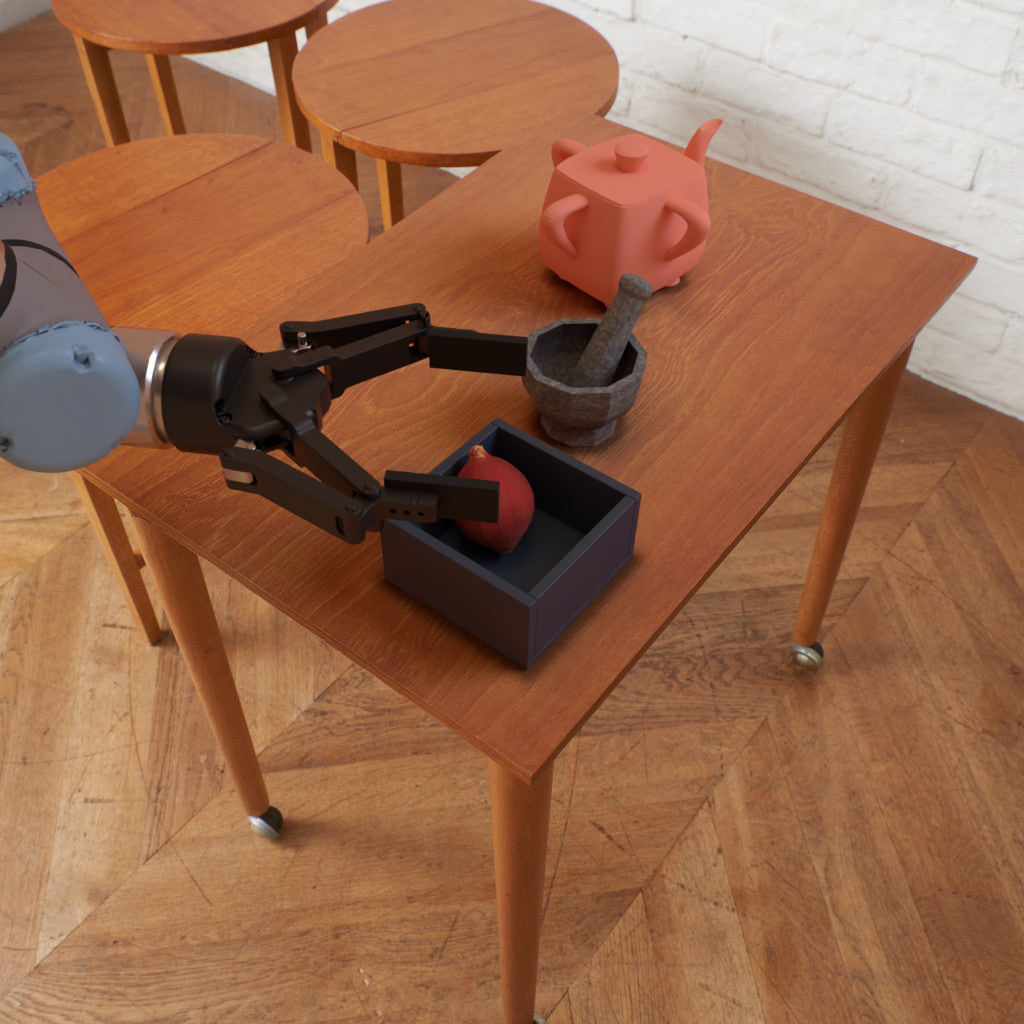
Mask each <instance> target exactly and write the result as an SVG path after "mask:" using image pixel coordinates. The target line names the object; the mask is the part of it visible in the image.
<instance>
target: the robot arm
mask: <svg viewBox="0 0 1024 1024" xmlns="http://www.w3.org/2000/svg"><path fill="white" fill-rule="evenodd" d="M37 188H38V186H37V183H36V181H35V180H34V179H33V178H32V177H31V175H30V172H29V170H28V168H27V166H26V163H25V161H24V158H23V156H22V153H21V151H20V149H19V147H18V145H17V144H16V143H15V141H13V140H12V138H10V137H9V136H7V135H6V134H4V133H3V132H0V458H1V459H3V460H4V461H5V462H7V463H8V464H10V465H12V466H15V467H17V468H19V469H22V470H25V471H30V472H34V473H44V474H59V473H68V472H72V471H76V470H81V469H83V468H86V467H89V466H90V465H93V464H95V463H98V462H99V461H101V460H103V459H104V458H106V457H107V456H109V455H110V454H111V453H112V452H113V451H114V450H115V449H116V448H118V447H119V446H124V447H134V448H135V447H136V448H142V449H153V450H163V451H164V450H171V449H173V448H174V447H175V449H177V450H178V451H179V452H181V453H187V454H195V455H196V454H197V455H207V456H217V457H218V458H219V461H220V466H221V470H222V474H223V477H224V481H225V485H226V488H228V489H230V490H233V491H239V492H243V493H244V492H245V493H250V494H254V495H258V496H260V497H262V498H263V499H266V500H268V501H270V502H271V503H273V504H275V505H277V506H278V507H280V508H282V509H284V510H286V511H288V512H289V513H291V514H293V515H295V516H296V517H298V518H300V519H302V520H304V521H305V522H308V523H310V524H311V525H313V526H315V527H317V528H319V529H321V530H323V531H324V532H326V533H328V534H330V535H332V536H333V537H335V538H337V539H339V540H341V541H342V542H344V543H345V544H349V545H351V546H358V545H361V544H362V543H364V541H365V540H366V536H367V535H366V533H367V532H370V533H378V532H380V531H381V530H382V529H383V528H384V525H385V524H384V519H392V520H401V521H411V522H420V523H431V522H437V518H448V519H457V520H467V521H476V522H486V523H495V524H498V519H499V497H500V481H492V480H482V479H472V478H462V477H452V476H443V475H433V474H428V473H421V472H413V471H412V472H411V471H404V470H403V471H402V470H393V469H386V470H385V472H384V477H383V485H381V483H380V481H379V480H378V479H376V478H375V477H374V476H373V475H372V474H370V473H369V472H368V471H367V470H366V469H365V468H363V467H362V466H361V465H360V464H359V463H358V462H357V461H355V460H354V459H353V458H352V457H351V456H350V455H348V454H347V452H345V451H344V450H342V448H340V447H339V446H338V445H337V444H335V442H334V441H332V440H331V439H330V438H329V437H328V436H327V435H325V434H324V433H323V432H322V429H323V427H324V426H323V422H324V421H323V418H324V417H325V416H326V414H327V413H328V412H329V410H330V409H331V406H332V402H333V401H334V400H336V399H338V398H341V397H342V396H343V395H344V393H345V391H346V390H347V389H348V388H352V387H354V386H356V385H360V384H362V383H364V382H367V381H370V380H372V379H375V378H378V377H380V376H383V375H386V374H388V373H392V372H394V371H397V370H399V369H402V368H405V367H407V366H410V365H412V364H415V363H418V362H420V361H423V360H426V359H428V363H429V369H438V370H449V371H460V372H469V373H470V372H471V373H481V374H490V375H491V374H492V375H502V376H512V377H521V376H522V377H526V372H527V353H528V337H529V336H519V335H510V334H509V335H507V334H498V333H487V332H486V333H485V332H480V331H477V330H474V329H468V328H457V327H447V326H437V325H433V324H431V313H430V311H428V310H427V307H426V305H425V304H424V303H421V302H413V303H408V304H407V303H406V304H403V305H397V306H390V307H386V308H381V309H380V308H379V309H375V310H370V311H369V310H368V311H364V312H359V313H353V314H348V315H343V316H337V317H332V318H327V319H326V318H325V319H321V320H315V321H311V320H310V321H309V320H307V321H306V320H286V321H283V322H281V323H280V324H279V325H278V326H279V327H278V329H279V335H280V345H279V348H278V350H273V351H267V352H266V351H265V352H261V351H260V352H259V351H257V350H256V349H253V348H252V347H251V346H250V345H248V343H246V341H244V340H243V339H241V338H240V337H237V336H227V335H218V334H217V335H216V334H207V333H196V332H189V333H186V334H184V335H182V334H181V333H179V332H177V331H176V330H173V329H161V328H149V327H148V328H147V327H136V326H122V325H110V323H109V322H108V320H107V319H106V317H105V315H104V314H103V312H102V310H101V309H100V308H99V306H98V304H97V303H96V301H95V300H94V298H93V296H92V295H91V293H90V292H89V290H88V289H87V287H86V285H85V284H84V281H82V279H81V277H80V275H79V274H78V272H77V270H76V269H75V266H74V265H73V264H72V262H71V260H70V259H69V257H68V255H67V253H66V251H65V250H64V248H63V246H62V245H61V243H60V241H59V240H58V238H57V237H56V235H55V233H54V232H53V230H52V228H51V227H50V225H49V223H48V221H47V218H46V216H45V213H44V212H43V209H42V206H41V203H40V200H39V197H38V195H37V191H36V190H37ZM321 367H323V371H322V370H320V369H319V368H321ZM522 377H521V378H522ZM277 450H280V451H281V452H282V453H283V454H285V456H287V457H288V458H289V459H290V460H291V461H292V462H293V463H294V464H296V465H297V467H299V468H300V469H303V468H305V469H307V470H308V471H309V472H310V473H311V474H312V475H313V476H314V477H313V476H311V475H309V474H307V473H305V472H303V471H301V470H300V469H298V468H296V467H294V466H292V465H290V464H288V463H286V462H284V461H282V460H281V459H279V458H277V457H275V456H273V455H270V454H269V453H271V452H273V451H274V452H275V451H277ZM315 477H316V478H315Z"/></svg>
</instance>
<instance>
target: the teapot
mask: <svg viewBox="0 0 1024 1024" xmlns="http://www.w3.org/2000/svg"><path fill="white" fill-rule="evenodd" d="M723 123H724V120H723V119H722V118H713V119H710V120H708V121H706V122H704V123H703V124H701V126H700V127H698V128H697V129H696V131H695V133H694V134H693V135H692V137H691V138H690V140H689V142H688V144H687V146H686V148H685V150H684V151H683V153H680V152H679V151H676V150H675V149H673V148H671V147H669V146H667V145H666V144H663V143H661V142H659V141H657V140H654V139H652V138H650V137H648V136H646V135H643V134H641V133H637V132H635V133H634V132H633V133H628V134H624V135H621V136H618V137H614V138H612V139H609V140H606V141H603V142H600V143H598V144H597V143H596V144H594V145H592V146H590V147H587V146H586V145H584V144H582V143H580V142H578V141H576V140H573V139H570V138H558V139H557V140H555V141H554V142H553V143H552V144H551V150H550V151H551V153H550V154H551V161H552V164H553V167H554V169H553V171H552V174H551V177H550V180H549V182H548V183H549V184H548V186H547V190H546V193H545V197H544V200H543V203H542V209H541V213H540V219H539V224H538V225H539V226H538V232H537V247H538V252H539V255H540V258H541V260H542V263H543V265H544V266H545V267H547V269H550V270H551V271H552V272H553V273H555V274H556V275H557V276H558V278H560V279H561V280H563V281H566V282H568V283H570V284H571V285H572V286H574V287H576V288H577V289H579V290H580V291H583V292H584V293H586V294H588V295H589V296H590V297H592V298H594V299H596V300H599V301H600V302H602V303H603V304H604V307H606V309H608V308H609V306H610V304H611V302H612V300H613V299H614V297H615V295H616V293H617V291H618V289H619V285H618V282H619V280H620V278H621V276H622V275H623V274H625V273H628V274H633V275H636V276H639V277H641V278H643V279H645V280H646V281H648V282H649V283H650V284H651V285H652V286H653V292H657V291H658V290H660V289H662V288H664V287H674V286H677V285H678V284H679V283H680V282H681V281H680V280H681V278H680V277H681V276H683V275H684V274H686V273H687V272H689V271H690V270H691V269H692V268H693V267H695V265H696V264H698V261H699V260H700V258H701V256H702V255H703V253H704V251H705V247H706V243H707V237H708V236H709V234H710V232H711V229H712V221H711V218H710V216H709V196H708V186H707V185H708V184H707V176H706V170H705V161H706V155H707V151H708V148H709V145H710V143H711V141H712V139H713V137H714V136H715V135H716V133H717V131H718V130H720V128H721V127H722V125H723Z"/></svg>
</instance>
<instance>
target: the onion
mask: <svg viewBox="0 0 1024 1024" xmlns="http://www.w3.org/2000/svg"><path fill="white" fill-rule="evenodd" d="M469 456H470V458H469V461H468V462H467V464H466V465H465V466H464V467H463V468H462V469H461V471H460V472H459V474H458V475H457V477H462V478H472V479H482V480H492V481H500V497H499V519H498V524H495V523H486V522H476V521H467V520H457V519H454V521H455V523H456V524H457V526H458V528H459V529H460V530H461V531H462V532H463V533H464V534H465V535H466V536H467V537H468V538H469V539H470V540H472V541H474V542H476V543H478V544H480V545H483V546H485V547H488V548H490V549H493V550H494V551H496V552H498V553H501V554H506V553H510V552H511V551H513V550H514V548H515V547H516V545H517V544H518V542H519V541H520V539H521V538H522V536H523V535H524V533H525V532H526V530H527V529H528V527H529V525H530V523H531V520H532V518H533V513H534V508H535V503H534V494H533V492H532V489H531V487H530V484H529V482H528V481H527V479H526V478H525V476H524V475H523V474H522V473H521V472H520V471H519V470H518V469H517V468H515V467H514V466H513V465H511V464H510V463H508V462H507V461H505V460H503V459H501V458H498V457H494V456H492V455H490V454H488V453H487V452H486V451H485V450H484V449H483V446H479V445H476V446H474V447H472V448H471V449H470V453H469Z"/></svg>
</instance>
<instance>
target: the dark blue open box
mask: <svg viewBox="0 0 1024 1024" xmlns="http://www.w3.org/2000/svg"><path fill="white" fill-rule="evenodd" d="M476 445H479V446H483V449H484V450H485V451H486V452H487V453H488V454H490V455H492V456H494V457H498V458H501V459H503V460H505V461H507V462H508V463H510V464H511V465H513V466H514V467H515V468H517V469H518V470H519V471H520V472H521V473H522V474H523V475H524V476H525V478H526V479H527V481H528V482H529V484H530V487H531V489H532V492H533V494H534V503H535V508H534V513H533V518H532V520H531V523H530V525H529V527H528V529H527V530H526V532H525V533H524V535H523V536H522V538H521V539H520V541H519V542H518V544H517V545H516V547H515V548H514V550H513V551H511V552H510V553H506V554H501V553H498V552H496V551H494V550H493V549H490V548H488V547H485V546H483V545H480V544H478V543H476V542H474V541H472V540H470V539H469V538H468V537H467V536H466V535H465V534H464V533H463V532H462V531H461V530H460V529H459V528H458V526H457V524H456V523H455V521H454V519H448V518H437V522H431V523H420V522H411V521H401V520H392V519H384V524H385V525H384V528H383V529H382V530H381V531H379V536H380V544H381V553H382V562H383V569H384V570H383V572H384V579H385V580H386V581H388V582H390V583H391V584H392V585H394V586H395V587H397V588H398V589H400V590H402V591H403V592H405V593H406V594H408V595H409V596H411V597H412V598H414V599H416V600H417V601H418V602H420V603H421V604H423V605H425V606H426V607H428V608H429V609H431V610H432V611H434V612H436V613H437V614H439V615H440V616H441V617H443V618H445V619H447V620H448V621H450V622H451V623H453V624H454V625H456V626H458V627H459V628H461V629H462V630H464V631H465V632H467V633H468V634H470V635H471V636H472V637H474V638H476V639H477V640H479V641H480V642H482V643H484V644H485V645H487V646H488V647H490V648H491V649H493V650H495V651H496V652H498V653H499V654H501V655H502V656H504V657H505V658H507V659H509V660H510V661H511V662H513V663H515V664H516V665H518V666H519V667H521V668H522V669H524V670H525V671H528V670H529V669H530V668H531V666H532V665H534V663H535V662H536V661H537V660H538V659H539V658H540V657H541V656H542V655H543V654H544V653H545V652H546V651H547V649H548V648H550V646H551V645H553V644H554V642H555V641H557V639H558V638H559V637H560V636H561V635H562V634H563V633H564V631H565V630H566V629H567V628H569V626H570V625H571V624H572V623H573V622H574V621H575V620H576V619H577V618H578V617H579V615H581V614H582V612H584V610H585V609H586V608H587V607H588V606H589V605H590V604H591V603H592V602H593V601H594V599H596V597H597V596H599V594H600V593H601V592H602V591H603V590H604V589H606V587H607V586H608V585H609V584H610V582H612V580H613V579H615V577H616V576H617V575H619V573H620V572H621V571H622V570H623V569H624V567H625V566H627V564H628V563H629V562H630V561H631V560H633V557H634V552H635V551H634V550H635V543H636V538H637V537H636V536H637V529H638V524H639V523H638V522H639V517H640V516H639V515H640V511H641V510H640V508H641V503H642V502H641V501H642V495H643V494H642V492H640V491H638V490H636V489H634V488H632V487H630V486H629V485H627V484H625V483H623V482H620V481H618V480H617V479H615V478H614V477H611V476H609V475H608V474H606V473H603V472H601V471H600V470H598V469H596V468H594V467H592V466H590V465H588V464H587V463H584V462H583V461H581V460H579V459H577V458H575V457H574V456H571V455H569V454H567V453H566V452H564V451H562V450H560V449H559V448H556V447H554V446H553V445H551V444H549V443H546V442H545V441H543V440H541V439H540V438H537V437H536V436H533V435H531V434H530V433H527V432H526V431H524V430H522V429H520V428H518V427H517V426H514V425H513V424H511V423H509V422H507V421H505V420H503V419H501V418H499V417H498V416H497V417H495V418H494V419H492V420H491V421H490V422H489V423H487V424H486V425H485V426H484V427H483V428H481V429H480V430H478V432H476V433H474V435H472V437H470V438H469V439H468V440H467V441H466V442H464V443H463V444H462V445H461V446H459V447H458V448H457V449H456V450H454V451H453V452H452V453H451V454H450V455H448V456H447V457H446V458H445V459H443V460H442V461H441V462H440V463H438V464H437V465H436V466H435V467H434V468H433V469H431V470H430V471H429V472H428V473H427V474H433V475H443V476H452V477H457V475H458V474H459V472H460V471H461V469H462V468H463V467H464V466H465V465H466V464H467V462H468V461H469V458H470V456H469V453H470V449H471V448H472V447H474V446H476Z"/></svg>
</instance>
